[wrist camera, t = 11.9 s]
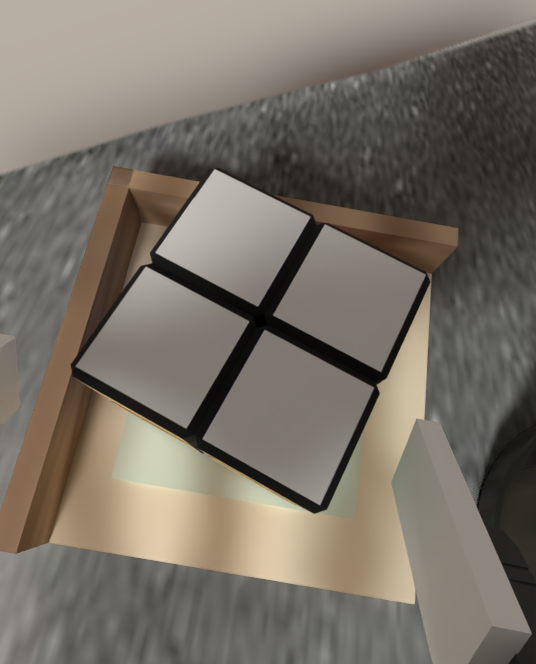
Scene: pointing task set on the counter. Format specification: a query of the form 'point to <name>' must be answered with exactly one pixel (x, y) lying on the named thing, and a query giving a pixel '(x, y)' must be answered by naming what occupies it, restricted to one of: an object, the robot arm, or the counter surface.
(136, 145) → the counter surface
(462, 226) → the counter surface
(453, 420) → the counter surface
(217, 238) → the puzzle cube
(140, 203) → the walled corner board
